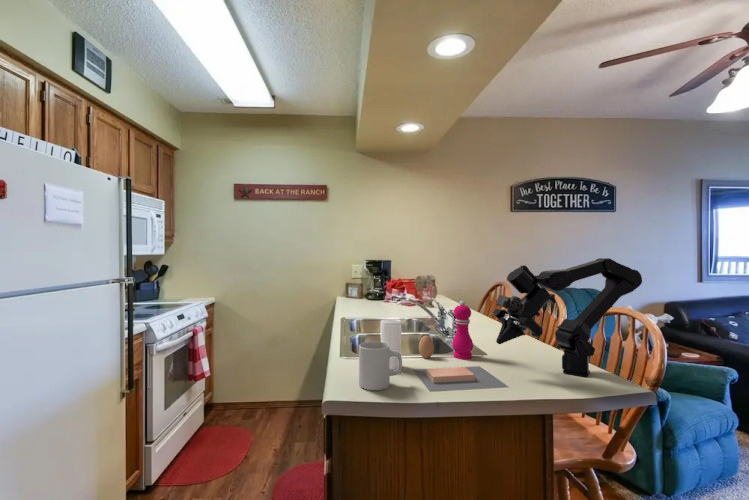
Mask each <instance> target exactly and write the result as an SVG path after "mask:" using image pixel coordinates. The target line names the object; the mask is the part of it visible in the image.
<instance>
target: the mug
mask: <svg viewBox="0 0 749 500" xmlns="http://www.w3.org/2000/svg"><path fill="white" fill-rule="evenodd" d="M392 356H396V357H397V358H398V360H399V365H398V368H397V369H396V370H392V369H390V366H389V360H390V357H392ZM402 358H403V357H402V354H401V352H400V353H399V352H398V351H394V350H389V345H388V344H387V343H383V342H381V341H366V342H361V343H360V344H359V345H358V385H359V387H360V388H361V387H362V388H364V389H363V390H365V389H367V390H366V391H370V390H379V391H382V390H383V389H384V390H386V389H387V388H389V387H390V381H391V380H390V377H393V376H394V377H395V376H398V375H400V374H401V371H402V369H403V359H402ZM362 388H361V389H362Z"/></svg>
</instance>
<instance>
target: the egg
mask: <svg viewBox="0 0 749 500" xmlns="http://www.w3.org/2000/svg"><path fill="white" fill-rule="evenodd" d="M418 352H419V354H420V357H422V358H423V359H429V358H432V356H433V353H434V342H433V340H432V338H431V337H430V336H429V335H423V336H422V337H421V339H420V340H419V343H418Z"/></svg>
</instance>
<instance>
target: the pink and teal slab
mask: <svg viewBox="0 0 749 500" xmlns="http://www.w3.org/2000/svg"><path fill="white" fill-rule="evenodd" d="M465 367H466V366H455V367H454V368H453V367H435V368H433V367H432V368H433V369H432V368H425V369H426V375H427V377H428V378H429V379H430V380H431V381H432V382H433V383H450V382H469V381H475V375H474V374H473V373H472V372H470V371H469V370H468V369H467V368H465Z"/></svg>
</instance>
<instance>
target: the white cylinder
mask: <svg viewBox="0 0 749 500" xmlns="http://www.w3.org/2000/svg"><path fill="white" fill-rule="evenodd" d="M379 324H380V330H379V331H380V332H379V333H380V342H383V343H387V344H388V345H389V350H394V351H398V352H399V353H400V354H401V345H402V343H401V342H402V333H403V332H402V320H400V319H397V318H383V319H381V320H380V323H379ZM398 365H399V360H398V358H397V357H396V356H392V357H390V360H389V366H390V369H392V370H396V369H397V368H398Z"/></svg>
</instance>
